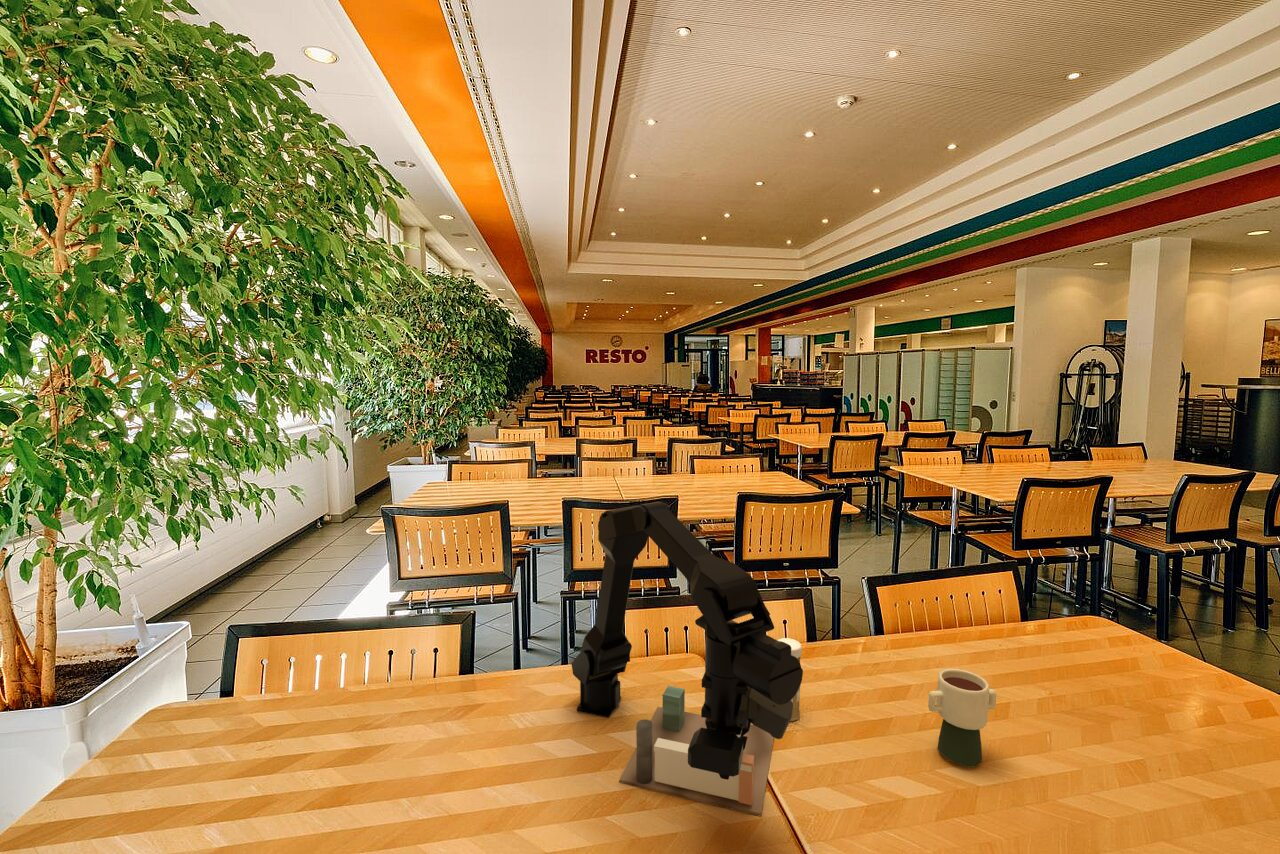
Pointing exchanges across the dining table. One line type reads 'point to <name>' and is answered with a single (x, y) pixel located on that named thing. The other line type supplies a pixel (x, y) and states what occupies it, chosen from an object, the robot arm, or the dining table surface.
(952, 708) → the character mug
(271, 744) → the dining table surface
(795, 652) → the sprinkles bottle
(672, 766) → the orange and cream block
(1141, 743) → the dining table surface
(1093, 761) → the dining table surface
